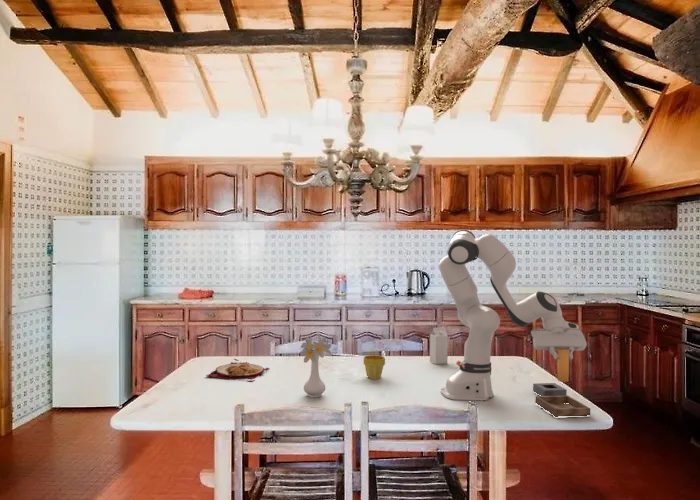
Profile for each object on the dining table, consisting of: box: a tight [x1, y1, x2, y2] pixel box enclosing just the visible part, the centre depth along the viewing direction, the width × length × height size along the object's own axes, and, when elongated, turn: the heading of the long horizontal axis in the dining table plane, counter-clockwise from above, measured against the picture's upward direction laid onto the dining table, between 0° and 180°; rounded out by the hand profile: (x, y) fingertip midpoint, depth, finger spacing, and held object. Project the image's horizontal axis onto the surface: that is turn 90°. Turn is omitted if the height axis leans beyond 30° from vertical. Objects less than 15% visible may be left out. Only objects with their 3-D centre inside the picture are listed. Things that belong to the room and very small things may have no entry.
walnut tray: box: [534, 395, 591, 417], centre depth 206 cm, size 14×16×4 cm
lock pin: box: [557, 349, 570, 383], centre depth 205 cm, size 4×4×12 cm
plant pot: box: [363, 354, 386, 380], centre depth 251 cm, size 10×10×10 cm
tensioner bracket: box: [532, 382, 568, 396], centre depth 225 cm, size 10×10×4 cm
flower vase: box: [299, 334, 332, 399], centre depth 220 cm, size 13×18×25 cm
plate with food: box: [205, 358, 270, 382], centre depth 256 cm, size 25×26×4 cm
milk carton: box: [429, 327, 449, 365], centre depth 281 cm, size 7×7×19 cm
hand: (563, 358), depth 204 cm, fingers closed on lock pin, 4 cm apart
